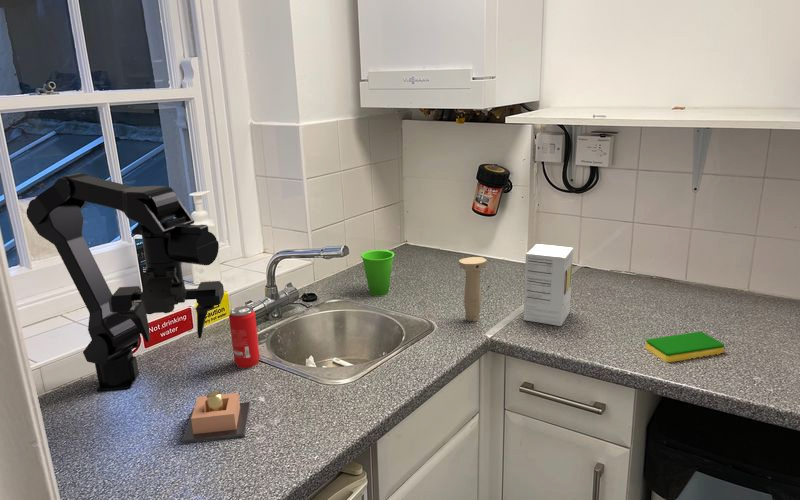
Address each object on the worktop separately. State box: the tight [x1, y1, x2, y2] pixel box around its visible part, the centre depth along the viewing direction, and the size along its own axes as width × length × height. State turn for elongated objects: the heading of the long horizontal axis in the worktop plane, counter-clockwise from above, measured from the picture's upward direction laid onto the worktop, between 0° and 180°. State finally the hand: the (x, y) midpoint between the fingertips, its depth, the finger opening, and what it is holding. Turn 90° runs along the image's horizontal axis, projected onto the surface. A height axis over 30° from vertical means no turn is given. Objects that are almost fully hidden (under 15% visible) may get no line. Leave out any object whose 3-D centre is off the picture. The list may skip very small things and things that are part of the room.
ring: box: [191, 392, 241, 434], centre depth 103 cm, size 7×7×3 cm
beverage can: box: [228, 305, 260, 369], centre depth 123 cm, size 5×5×12 cm
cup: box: [360, 249, 395, 297], centre depth 161 cm, size 9×9×11 cm
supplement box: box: [523, 243, 574, 327], centre depth 141 cm, size 10×9×17 cm
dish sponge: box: [645, 331, 725, 363], centre depth 125 cm, size 7×14×2 cm, turn 104°
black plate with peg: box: [182, 390, 251, 444], centre depth 103 cm, size 10×10×6 cm
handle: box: [458, 256, 488, 323], centre depth 141 cm, size 5×6×15 cm
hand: (174, 339), depth 109 cm, fingers open, 9 cm apart
